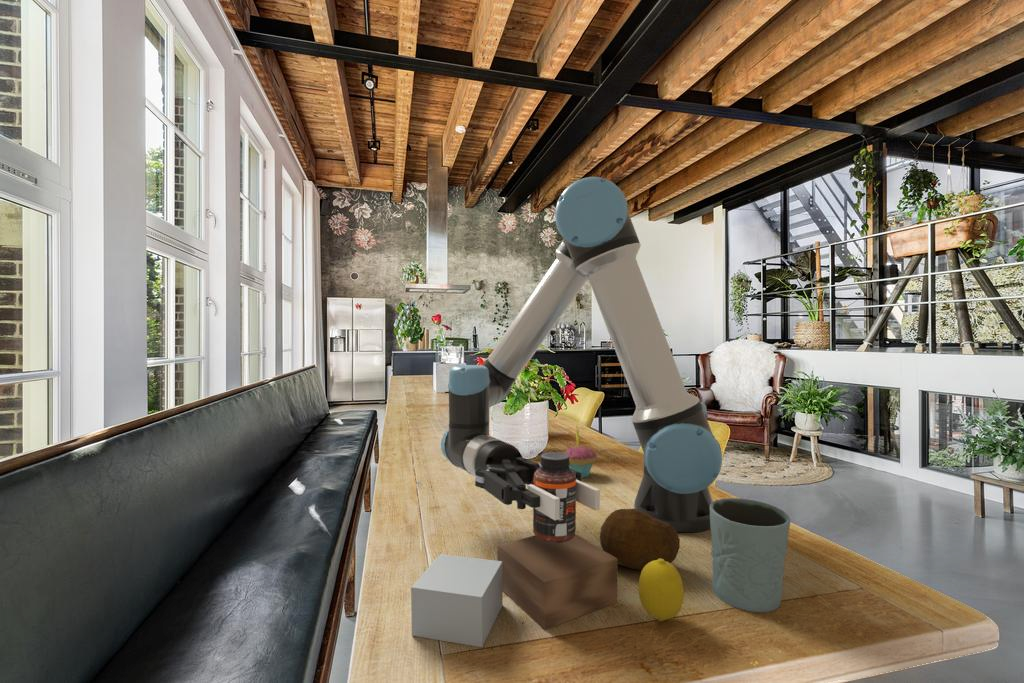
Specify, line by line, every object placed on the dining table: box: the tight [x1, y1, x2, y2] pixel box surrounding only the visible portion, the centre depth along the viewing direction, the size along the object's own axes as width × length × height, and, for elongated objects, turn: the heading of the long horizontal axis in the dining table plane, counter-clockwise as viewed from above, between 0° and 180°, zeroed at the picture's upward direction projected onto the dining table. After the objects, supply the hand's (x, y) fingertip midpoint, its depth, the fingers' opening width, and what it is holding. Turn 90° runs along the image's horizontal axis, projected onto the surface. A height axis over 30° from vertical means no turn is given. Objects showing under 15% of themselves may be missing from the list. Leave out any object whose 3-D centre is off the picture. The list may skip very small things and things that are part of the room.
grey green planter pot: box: [710, 497, 791, 613], centre depth 69 cm, size 10×10×12 cm
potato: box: [599, 508, 681, 571], centre depth 77 cm, size 8×12×9 cm
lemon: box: [637, 558, 685, 623], centre depth 63 cm, size 6×6×8 cm
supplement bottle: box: [532, 451, 577, 543], centre depth 69 cm, size 6×6×11 cm
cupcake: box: [563, 425, 598, 479], centre depth 124 cm, size 9×8×12 cm
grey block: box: [410, 553, 504, 648], centre depth 63 cm, size 9×9×6 cm
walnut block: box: [496, 533, 619, 631], centre depth 69 cm, size 12×12×6 cm
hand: (577, 504), depth 65 cm, fingers closed on supplement bottle, 6 cm apart
